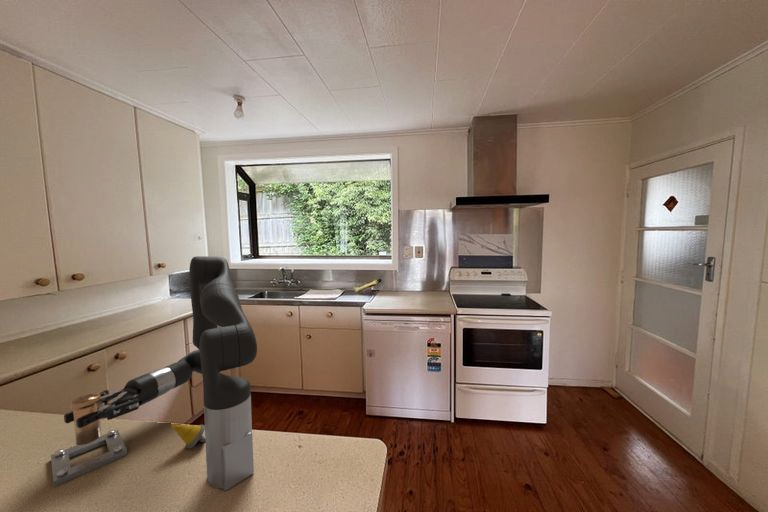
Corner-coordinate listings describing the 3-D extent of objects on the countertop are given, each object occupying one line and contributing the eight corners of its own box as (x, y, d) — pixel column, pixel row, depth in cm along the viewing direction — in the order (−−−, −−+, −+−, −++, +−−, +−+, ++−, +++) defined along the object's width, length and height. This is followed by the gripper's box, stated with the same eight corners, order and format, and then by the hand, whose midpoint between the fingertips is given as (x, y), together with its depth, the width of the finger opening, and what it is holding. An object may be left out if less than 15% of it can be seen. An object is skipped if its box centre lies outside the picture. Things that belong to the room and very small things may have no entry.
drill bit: (203, 453, 73) (166, 436, 69) (196, 453, 76) (159, 436, 72) (217, 430, 77) (182, 412, 73) (209, 430, 80) (176, 414, 76)
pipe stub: (104, 437, 71) (101, 397, 71) (74, 449, 68) (71, 407, 67) (101, 428, 75) (98, 390, 74) (72, 439, 71) (69, 399, 70)
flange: (127, 454, 72) (126, 447, 72) (53, 487, 63) (52, 478, 63) (118, 433, 80) (117, 426, 79) (51, 459, 70) (50, 451, 70)
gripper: (134, 369, 86) (52, 400, 70) (167, 377, 81) (88, 412, 65) (135, 393, 87) (55, 430, 71) (169, 403, 82) (90, 444, 66)
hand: (71, 421), depth 68 cm, fingers closed on pipe stub, 4 cm apart
